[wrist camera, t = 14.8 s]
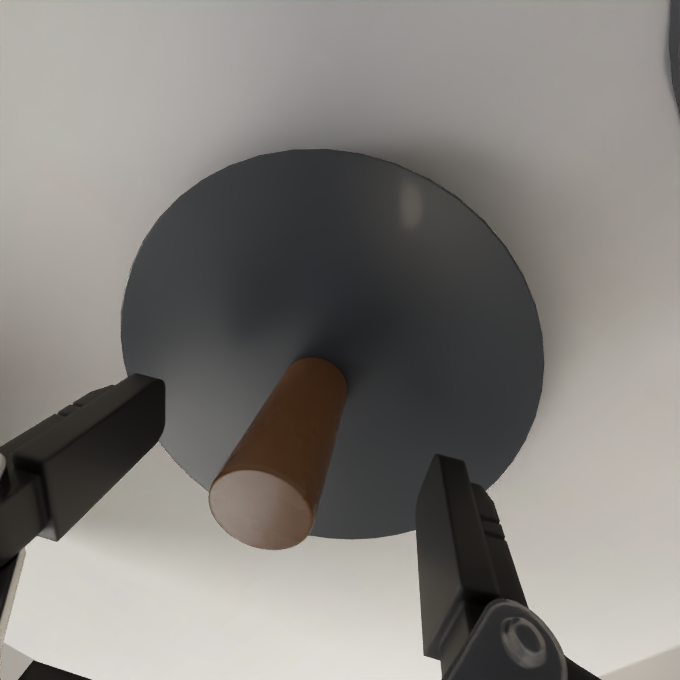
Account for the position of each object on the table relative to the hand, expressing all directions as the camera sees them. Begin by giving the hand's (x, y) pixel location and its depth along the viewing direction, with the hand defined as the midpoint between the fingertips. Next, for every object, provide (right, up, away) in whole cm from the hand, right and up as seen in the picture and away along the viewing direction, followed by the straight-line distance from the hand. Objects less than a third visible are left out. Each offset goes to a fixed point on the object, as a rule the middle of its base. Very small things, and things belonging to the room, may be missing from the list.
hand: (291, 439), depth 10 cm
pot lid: (+1, +1, +3) cm, 3 cm away
